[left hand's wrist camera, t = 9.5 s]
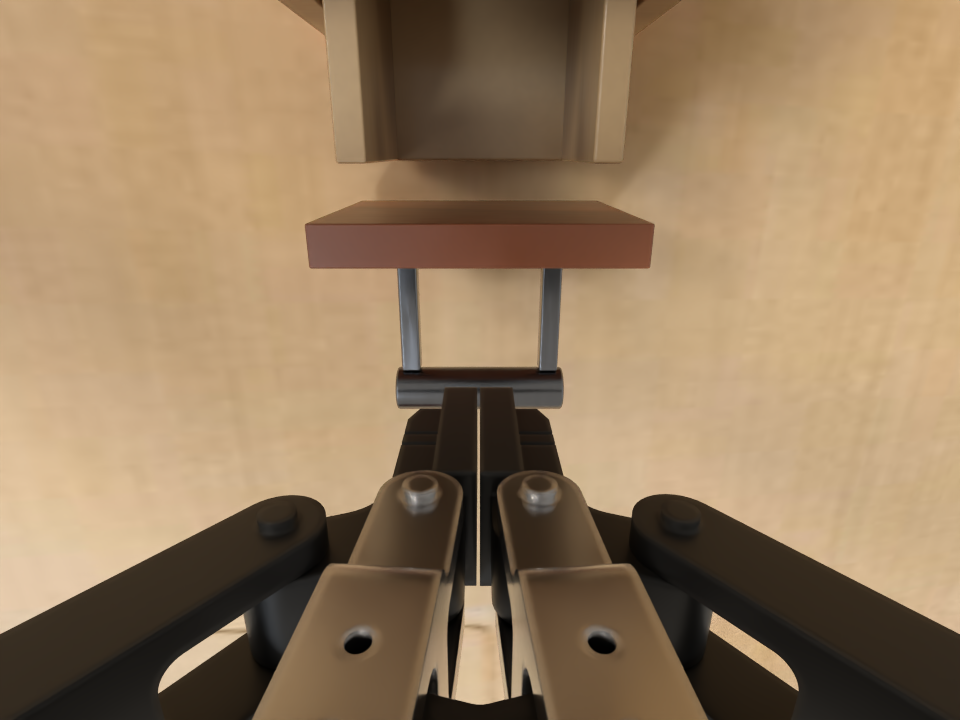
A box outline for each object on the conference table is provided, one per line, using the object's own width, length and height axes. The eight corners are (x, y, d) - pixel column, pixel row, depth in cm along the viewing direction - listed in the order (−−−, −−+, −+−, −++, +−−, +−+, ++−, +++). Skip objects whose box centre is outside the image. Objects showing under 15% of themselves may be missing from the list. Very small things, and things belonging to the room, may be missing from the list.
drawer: (587, 354, 24) (631, 438, 17) (372, 354, 24) (327, 438, 17) (639, -367, 16) (765, -774, 9) (319, -367, 16) (194, -775, 9)
